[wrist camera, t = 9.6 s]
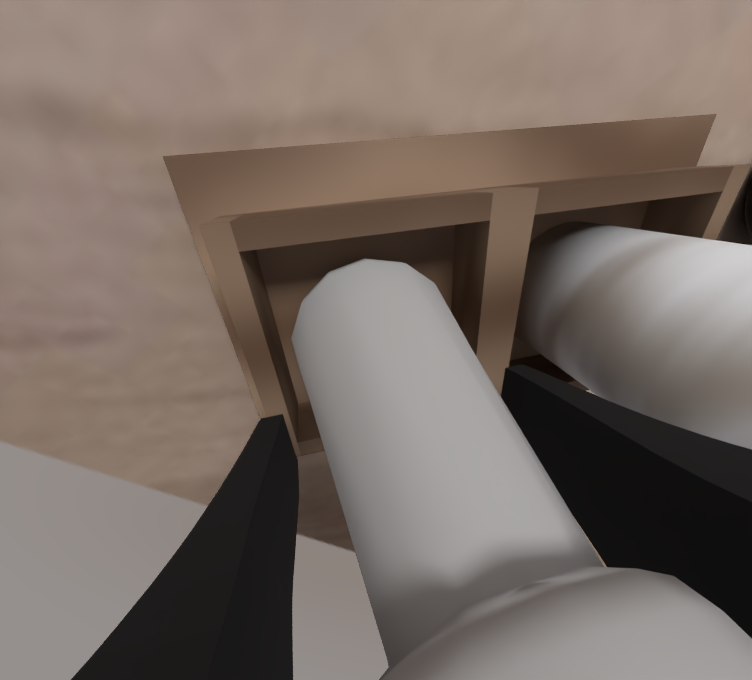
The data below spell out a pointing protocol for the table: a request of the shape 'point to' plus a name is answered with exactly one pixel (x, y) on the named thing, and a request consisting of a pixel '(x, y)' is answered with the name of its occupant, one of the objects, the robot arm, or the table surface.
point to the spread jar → (749, 208)
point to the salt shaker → (474, 510)
